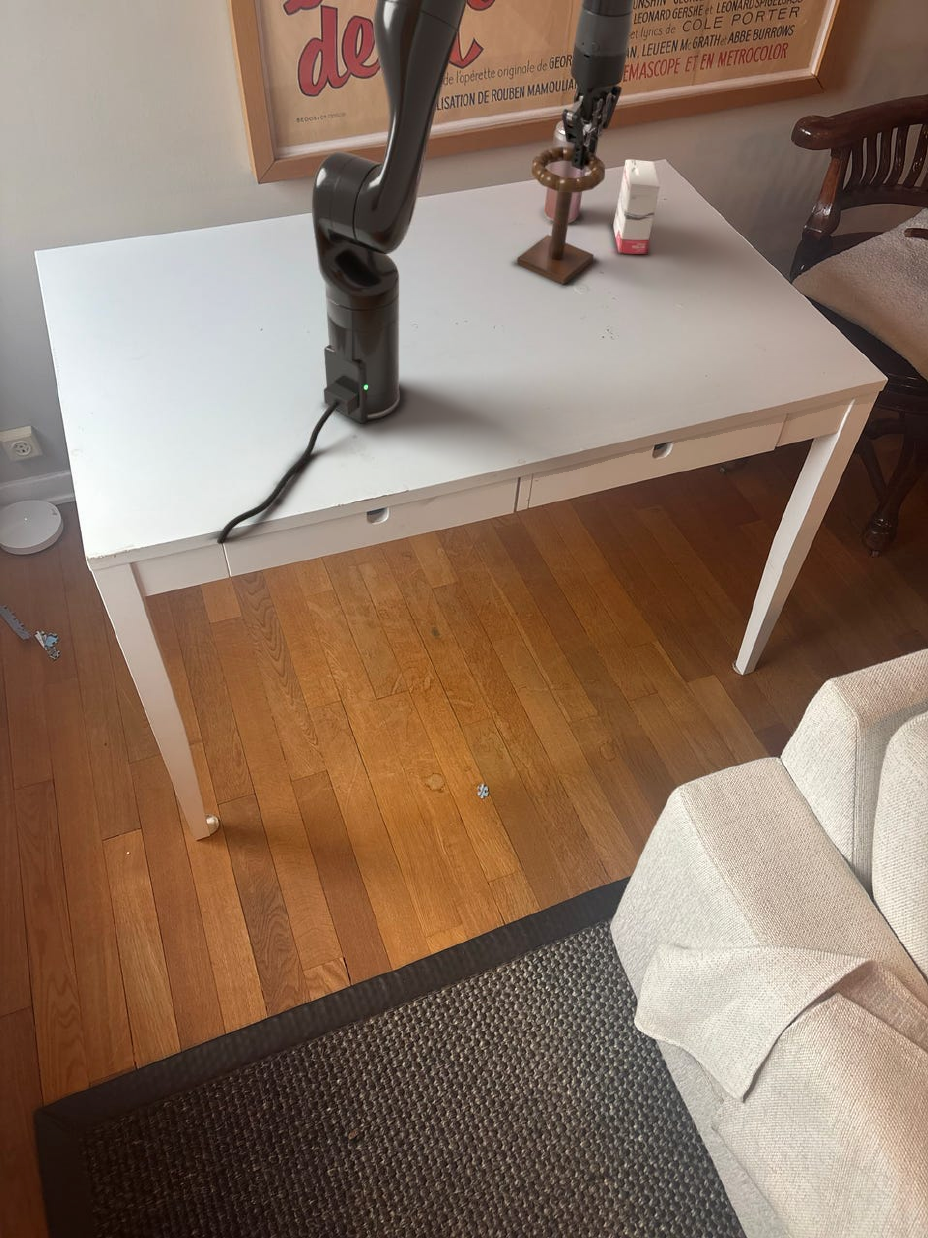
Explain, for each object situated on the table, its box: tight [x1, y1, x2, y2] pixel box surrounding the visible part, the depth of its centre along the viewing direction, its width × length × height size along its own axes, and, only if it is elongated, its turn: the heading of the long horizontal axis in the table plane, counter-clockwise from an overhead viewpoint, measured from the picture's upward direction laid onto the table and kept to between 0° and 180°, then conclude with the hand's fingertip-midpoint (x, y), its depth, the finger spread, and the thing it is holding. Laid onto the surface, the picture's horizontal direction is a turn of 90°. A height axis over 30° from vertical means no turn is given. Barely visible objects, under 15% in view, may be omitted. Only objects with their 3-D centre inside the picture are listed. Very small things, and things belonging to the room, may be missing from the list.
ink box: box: [612, 159, 661, 255], centre depth 158 cm, size 9×5×12 cm, turn 0°
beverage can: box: [544, 120, 587, 224], centre depth 160 cm, size 6×6×15 cm
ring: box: [531, 147, 606, 193], centre depth 145 cm, size 11×11×2 cm
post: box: [516, 191, 594, 285], centre depth 152 cm, size 9×9×13 cm
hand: (582, 163), depth 148 cm, fingers closed on ring, 2 cm apart
